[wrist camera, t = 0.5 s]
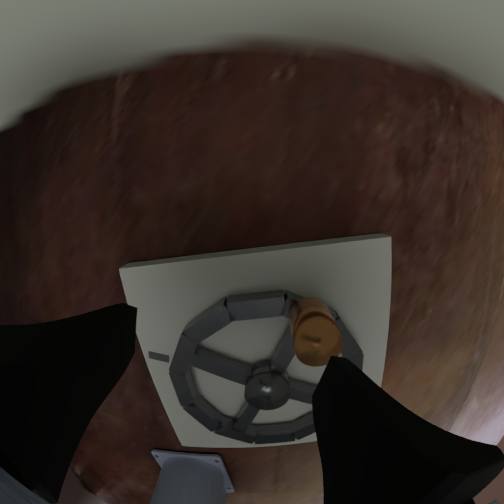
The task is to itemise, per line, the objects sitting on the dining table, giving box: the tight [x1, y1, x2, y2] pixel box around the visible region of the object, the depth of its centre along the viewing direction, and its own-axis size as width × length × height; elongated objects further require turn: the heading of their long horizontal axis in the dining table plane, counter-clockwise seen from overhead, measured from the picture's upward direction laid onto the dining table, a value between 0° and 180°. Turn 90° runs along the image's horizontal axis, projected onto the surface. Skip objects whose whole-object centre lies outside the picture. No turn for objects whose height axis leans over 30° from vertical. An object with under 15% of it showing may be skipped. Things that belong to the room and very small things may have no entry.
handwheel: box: [169, 290, 364, 444], centre depth 16 cm, size 14×13×5 cm
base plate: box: [119, 233, 391, 448], centre depth 19 cm, size 18×18×2 cm
